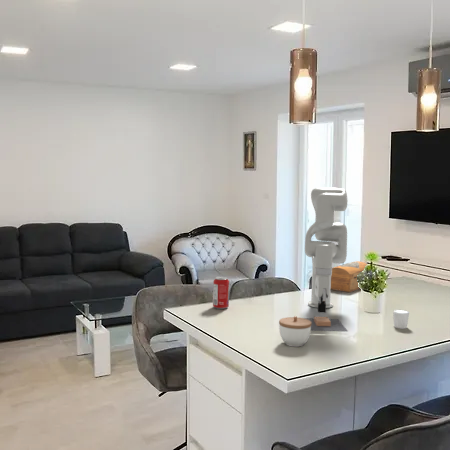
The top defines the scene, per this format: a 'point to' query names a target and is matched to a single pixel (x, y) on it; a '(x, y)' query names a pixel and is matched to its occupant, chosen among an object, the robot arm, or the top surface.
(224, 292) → the soda can
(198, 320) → the top surface
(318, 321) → the picture frame
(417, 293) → the top surface
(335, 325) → the charcoal mat
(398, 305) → the top surface
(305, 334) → the lidded bowl
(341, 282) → the wooden box
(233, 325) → the top surface
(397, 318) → the white cup
